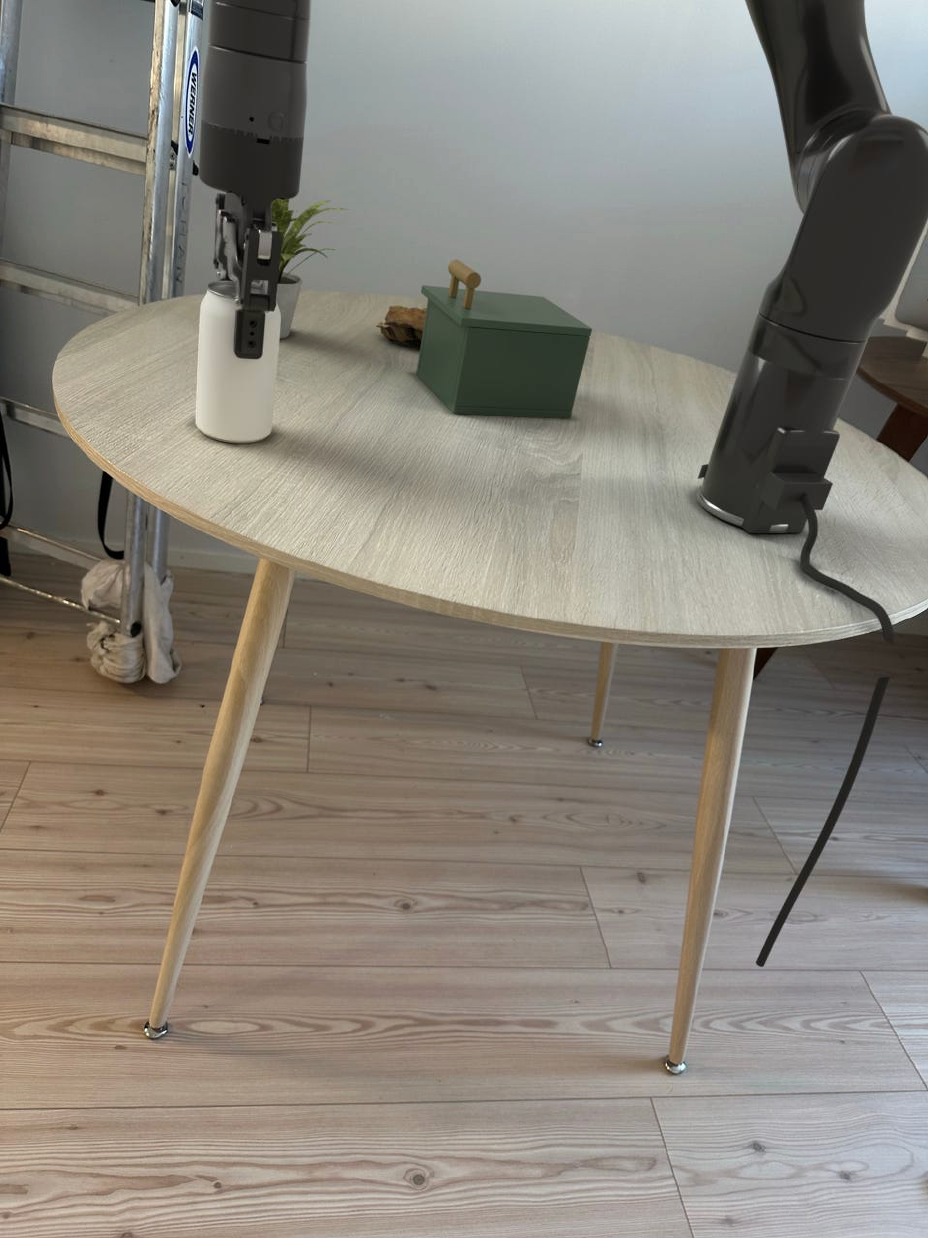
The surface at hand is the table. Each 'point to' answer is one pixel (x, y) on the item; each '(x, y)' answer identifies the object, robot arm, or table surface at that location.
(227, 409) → the can
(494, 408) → the bin
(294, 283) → the house plant
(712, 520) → the table surface
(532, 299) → the bread bin lid
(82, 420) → the table surface
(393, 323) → the brown tree bark piece
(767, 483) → the robot arm
